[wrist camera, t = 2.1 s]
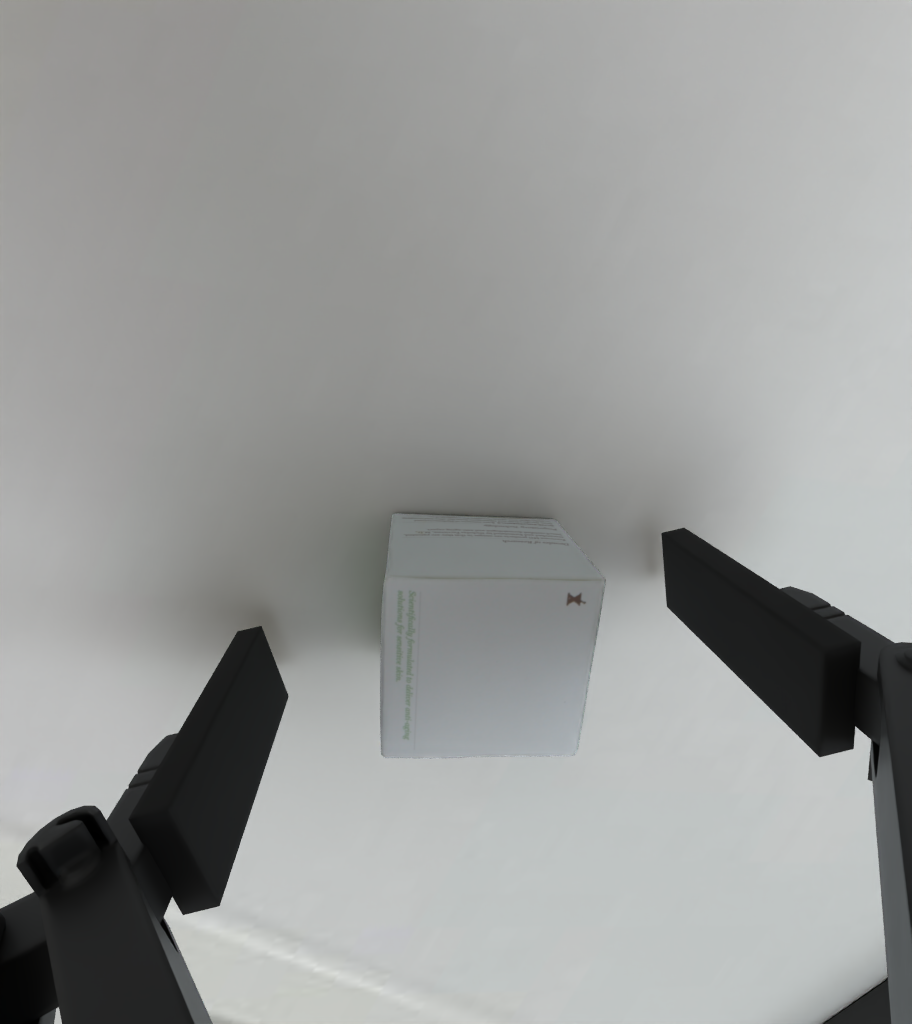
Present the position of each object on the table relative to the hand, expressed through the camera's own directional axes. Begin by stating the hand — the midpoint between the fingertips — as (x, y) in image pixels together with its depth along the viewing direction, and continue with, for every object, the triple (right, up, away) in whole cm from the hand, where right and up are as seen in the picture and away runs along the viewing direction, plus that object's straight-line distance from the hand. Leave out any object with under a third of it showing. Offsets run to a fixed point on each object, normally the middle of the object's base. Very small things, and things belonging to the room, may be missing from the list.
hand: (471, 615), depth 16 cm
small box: (0, +1, +1) cm, 2 cm away
